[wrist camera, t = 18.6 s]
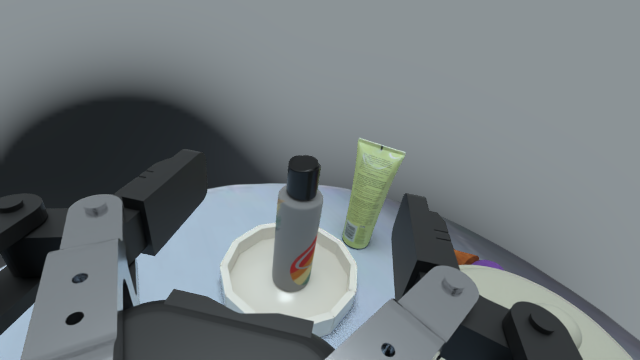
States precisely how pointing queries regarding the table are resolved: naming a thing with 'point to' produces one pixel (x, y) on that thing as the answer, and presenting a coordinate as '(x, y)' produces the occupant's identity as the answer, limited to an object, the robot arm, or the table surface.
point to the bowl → (265, 297)
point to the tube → (369, 190)
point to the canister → (507, 289)
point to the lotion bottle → (297, 224)
